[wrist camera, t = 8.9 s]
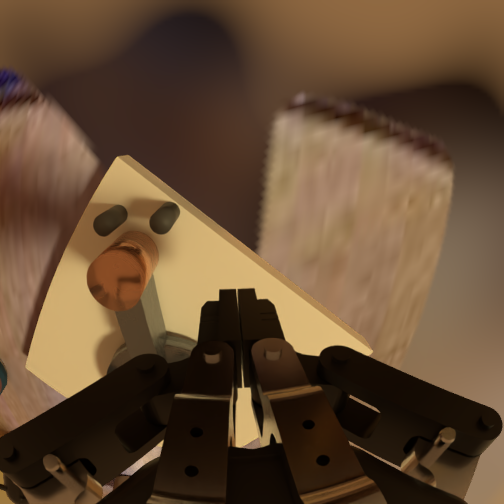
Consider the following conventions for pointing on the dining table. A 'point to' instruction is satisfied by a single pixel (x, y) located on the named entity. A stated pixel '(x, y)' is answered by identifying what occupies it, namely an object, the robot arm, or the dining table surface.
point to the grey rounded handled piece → (134, 299)
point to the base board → (164, 286)
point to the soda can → (2, 376)
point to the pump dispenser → (13, 491)
